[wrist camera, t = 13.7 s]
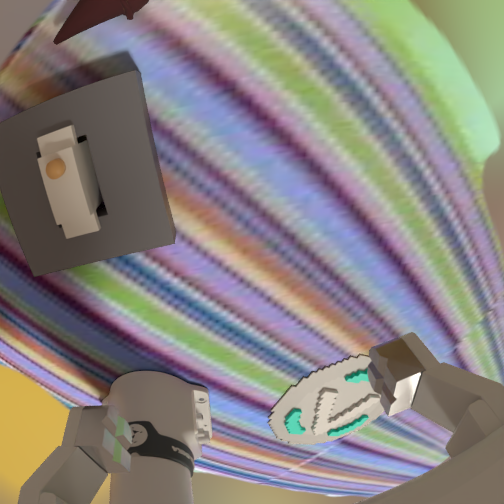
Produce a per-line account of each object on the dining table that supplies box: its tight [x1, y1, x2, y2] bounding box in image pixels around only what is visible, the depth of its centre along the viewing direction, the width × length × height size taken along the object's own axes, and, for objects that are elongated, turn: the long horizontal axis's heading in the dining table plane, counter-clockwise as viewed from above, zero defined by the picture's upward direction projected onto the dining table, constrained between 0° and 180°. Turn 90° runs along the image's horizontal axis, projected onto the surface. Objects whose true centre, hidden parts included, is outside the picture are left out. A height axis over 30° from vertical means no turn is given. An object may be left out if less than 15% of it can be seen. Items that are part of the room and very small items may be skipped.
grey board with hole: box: [0, 70, 176, 277], centre depth 30 cm, size 18×18×3 cm
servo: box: [37, 125, 103, 239], centre depth 28 cm, size 11×4×6 cm, turn 8°
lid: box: [268, 354, 385, 445], centre depth 57 cm, size 28×28×2 cm
